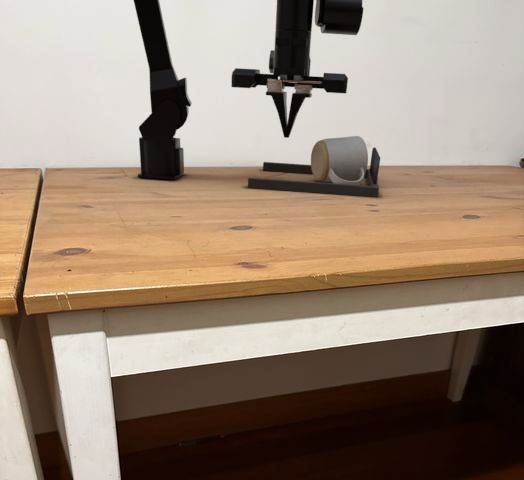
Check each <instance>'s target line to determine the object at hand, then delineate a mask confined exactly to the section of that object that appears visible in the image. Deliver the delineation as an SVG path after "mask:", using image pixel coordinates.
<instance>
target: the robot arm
mask: <svg viewBox="0 0 524 480" xmlns="http://www.w3.org/2000/svg"><path fill="white" fill-rule="evenodd" d="M314 3H315V8H314ZM133 5H134V8H135V12H136V18H137V21H138V26H139V30H140V35H141V39H142V43H143V47H144V52H145V56H146V60H147V65H148V70H149V72H148V73H149V96H150V110H151V113H150V114H149V115H148V117H147V118H145V120H143V122H142V123H141V124H140V125H139V126H138V130H139V133H140V135H141V137H139V138H138V143H139V144H138V146H139V161H140V173H137V177H138V178H145V179H157V180H158V179H159V180H172V181H173V180H176V179H178V178H180V177H181V176H183V175H184V174H185V163H184V162H185V157H184V156H185V155H184V153H185V152H184V148H183V147H181V137H175V136H176V133H177V131H178V130H179V129H181V128H182V127H183V126H184V125H185V123H186V122H187V119H188V118H189V112H190V110H189V108H190V107H191V106H192V104H193V102H192V100H191V99H190V97H189V94H188V79H187V77H183V78H180V79H179V78H178V75H177V72H176V70H175V67H174V65H173V60H172V57H171V51H170V45H169V41H168V36H167V32H166V27H165V23H164V17H163V12H162V8H161V4H160V0H133ZM275 15H276V16H275V31H274V50H272V49H271V50H270V52H269V59H268V71H269V73H261V70H260V69H256V68H240V67H239V68H237V67H235V68H234V70H233V71H232V72H231V88H239V89H251V88H253V89H254V88H257V87H258V86H265V87H266V90H267V91H265V96H271V98H272V101H273V104H274V106H275V109H276V112H277V114H278V115H277V116H278V119H279V123H280V127H281V130H282V135H283V138H286V139H289V138H290V136H291V133H292V130H293V127H294V125H295V122H296V119H297V117H298V114H299V111H300V109H301V108H302V105H303V104H304V101H305V100H306V99H307V98H308V99H310V98H312V97H313V93H312V91H313V90H314V89H318V90H319V89H321V90H324V91H325V92H326V93H332V94H347V92H348V91H347V90H348V82H349V78H348V76H347V75H346V73H335V72H323V76H315V75H314V76H313V75H311V74H310V73H311V62H312V61H311V43H312V30H313V29H312V27H313V17H314V25H315V26H316V27H318V28H319V29H320V33H321V34H328V35H342V36H343V35H346V36H358V33H359V32H360V29H361V26H362V21H363V16H364V7H363V0H276V13H275ZM313 15H314V16H313ZM286 88H294V90H295V92H293V93H292V92H291V93H292V94H291V99H290V105H289V106H290V107H289V113H288V105H287V103H288V102H287V98H288V91H285V89H286Z"/></svg>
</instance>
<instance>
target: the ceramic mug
mask: <svg viewBox="0 0 524 480" xmlns="http://www.w3.org/2000/svg"><path fill="white" fill-rule="evenodd" d="M368 164H369V153H368V148H367V144H366V142H365V140H364V139H363V137H362V136H359V135H352V136H343V137H329V138H323V139H321V140H317V141H316V142H315V144H314V145H313V147H312V149H311V153H310V165H311V169H312V173H313V174H312V175H313V177H314V179H315V180H316V181H317V182H322V183H336V184H350V185H363V182H364V179H365V178H364V176H365V173H366V170H367V169H368Z"/></svg>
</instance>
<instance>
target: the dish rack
mask: <svg viewBox="0 0 524 480" xmlns="http://www.w3.org/2000/svg"><path fill="white" fill-rule="evenodd" d="M380 163H381V156H380V154H379V152H378V150H377V148H376V147H375V146H374V147H372V150H371V158H370V163H369V168H367V170H366V173H365V176H364V179H367V183H368V185H364V184H362V185H350V184H336V183H324V182H319V181H309V180H308V181H306V180H291V179H277V178H263V177H247V188H248V189H258V190H274V191H287V192H299V193H300V192H302V193H315V194H326V195H327V194H330V195H343V196H355V197H356V196H357V197H369V198H378V196H379V189H380V188H379V184H378V177H379V171H380ZM262 171H264V172H277V173H278V172H279V173H292V174H293V173H294V174H307V175H313V173H312V169H311V164H300V163H286V162H271V161H263V163H262Z"/></svg>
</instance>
